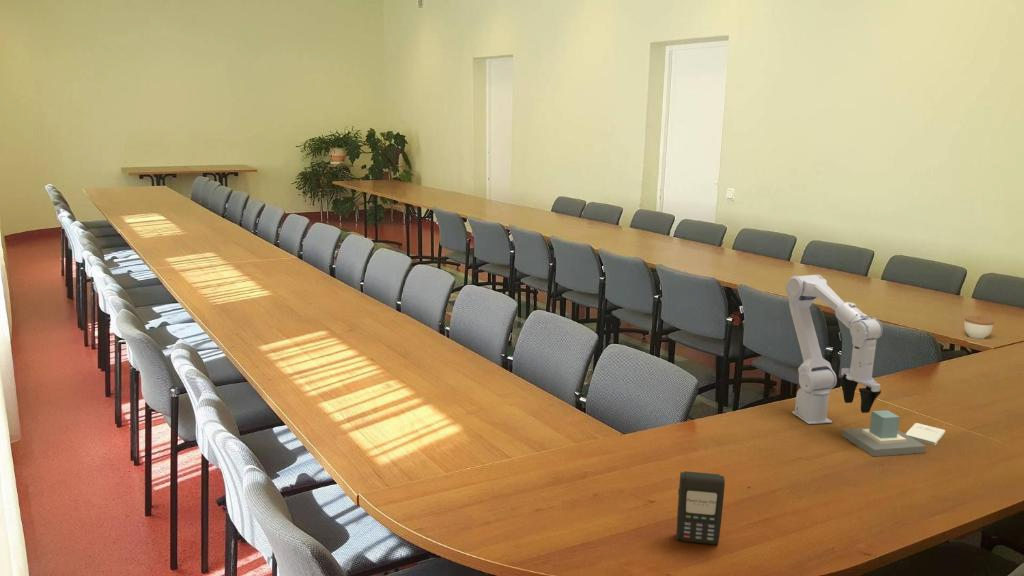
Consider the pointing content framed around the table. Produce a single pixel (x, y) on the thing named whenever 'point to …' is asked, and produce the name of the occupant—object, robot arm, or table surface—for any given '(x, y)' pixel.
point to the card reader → (700, 507)
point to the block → (884, 424)
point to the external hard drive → (925, 433)
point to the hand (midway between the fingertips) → (856, 407)
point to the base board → (883, 443)
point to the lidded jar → (978, 326)
